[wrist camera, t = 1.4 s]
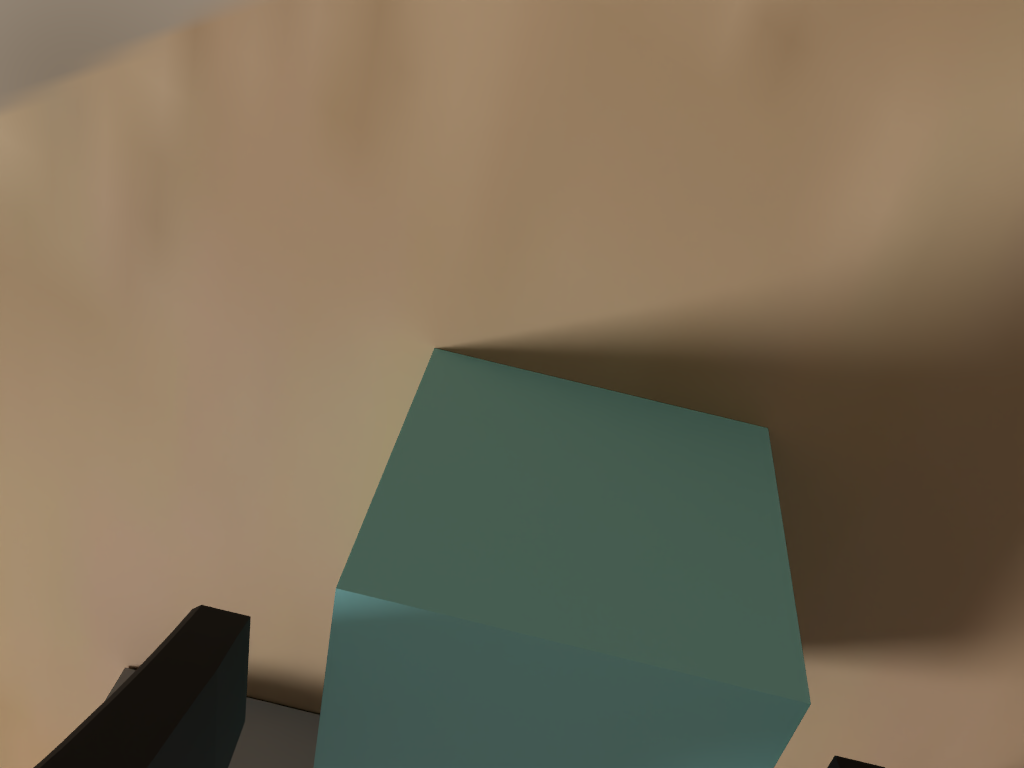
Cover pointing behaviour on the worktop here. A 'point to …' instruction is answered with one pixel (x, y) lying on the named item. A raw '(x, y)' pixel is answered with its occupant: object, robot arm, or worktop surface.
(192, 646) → the robot arm
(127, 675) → the base slab
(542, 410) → the teal cube
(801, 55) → the worktop surface
